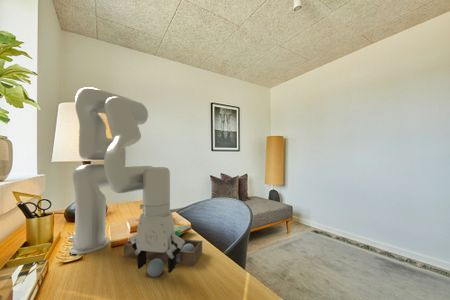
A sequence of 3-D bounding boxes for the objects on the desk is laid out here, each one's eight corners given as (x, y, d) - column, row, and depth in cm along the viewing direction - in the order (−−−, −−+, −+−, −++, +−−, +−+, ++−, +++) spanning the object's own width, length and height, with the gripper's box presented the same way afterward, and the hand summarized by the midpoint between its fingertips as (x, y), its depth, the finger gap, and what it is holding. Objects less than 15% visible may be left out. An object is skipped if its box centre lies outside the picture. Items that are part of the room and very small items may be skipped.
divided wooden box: (123, 258, 61) (123, 244, 62) (139, 246, 70) (139, 234, 70) (193, 268, 56) (193, 253, 56) (202, 254, 64) (202, 240, 64)
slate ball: (143, 279, 51) (143, 263, 51) (153, 269, 56) (153, 254, 56) (158, 282, 50) (158, 265, 50) (166, 271, 55) (166, 256, 55)
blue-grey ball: (178, 261, 59) (179, 246, 59) (184, 253, 64) (184, 240, 64) (192, 262, 58) (192, 248, 58) (197, 255, 63) (197, 241, 63)
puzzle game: (161, 216, 91) (191, 224, 80) (160, 226, 90) (191, 235, 80) (139, 224, 80) (170, 234, 70) (139, 234, 80) (170, 246, 70)
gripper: (121, 211, 52) (121, 272, 51) (177, 214, 48) (177, 280, 47) (139, 204, 59) (139, 257, 58) (189, 206, 55) (189, 263, 55)
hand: (156, 267), depth 53 cm, fingers open, 9 cm apart
